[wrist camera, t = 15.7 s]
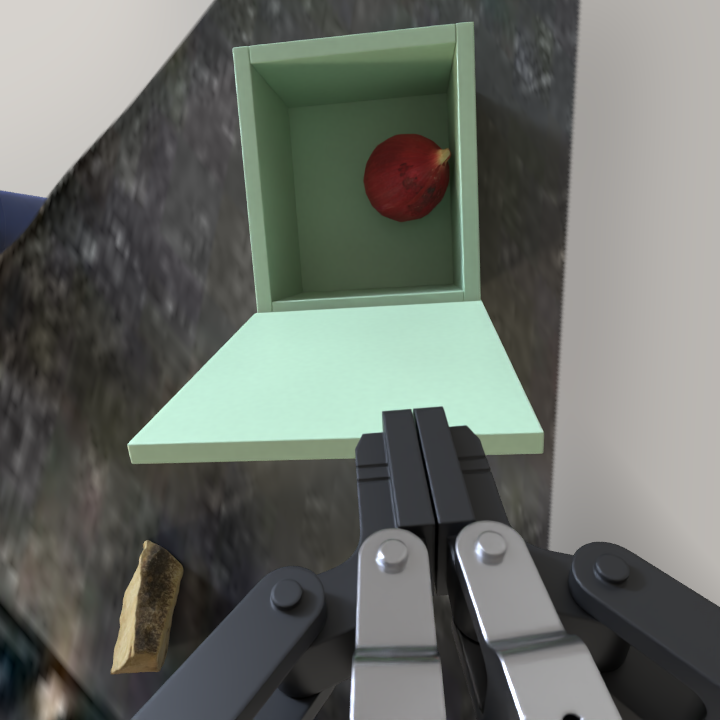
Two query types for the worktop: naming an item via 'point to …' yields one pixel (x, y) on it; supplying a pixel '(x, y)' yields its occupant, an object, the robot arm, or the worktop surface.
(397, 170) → the onion
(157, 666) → the rock
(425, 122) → the chest
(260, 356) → the lid
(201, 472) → the worktop surface
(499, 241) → the worktop surface
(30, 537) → the worktop surface
